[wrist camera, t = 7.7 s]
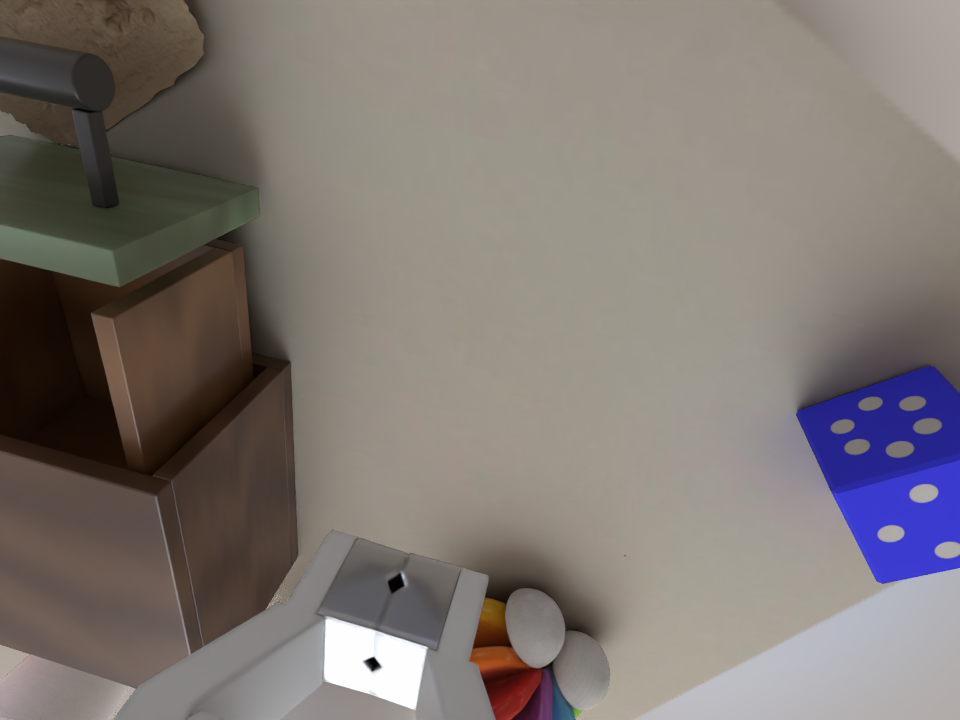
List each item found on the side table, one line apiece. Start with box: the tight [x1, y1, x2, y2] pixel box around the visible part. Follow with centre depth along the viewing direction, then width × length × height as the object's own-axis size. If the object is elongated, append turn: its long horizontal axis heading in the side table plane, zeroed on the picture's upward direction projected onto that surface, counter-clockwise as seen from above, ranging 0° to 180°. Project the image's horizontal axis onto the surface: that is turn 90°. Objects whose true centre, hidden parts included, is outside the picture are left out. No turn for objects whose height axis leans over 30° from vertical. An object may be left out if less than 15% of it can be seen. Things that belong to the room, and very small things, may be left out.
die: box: [796, 366, 960, 584], centre depth 21 cm, size 5×5×5 cm
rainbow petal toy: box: [469, 588, 610, 720], centre depth 31 cm, size 8×10×7 cm
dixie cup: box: [0, 654, 130, 720], centre depth 40 cm, size 8×8×10 cm
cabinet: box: [0, 353, 298, 688], centre depth 29 cm, size 15×13×10 cm
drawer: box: [0, 36, 260, 477], centre depth 23 cm, size 18×11×8 cm, turn 172°
